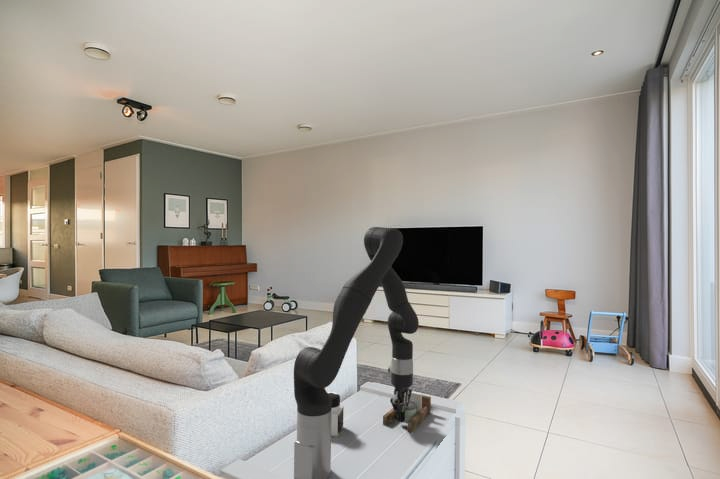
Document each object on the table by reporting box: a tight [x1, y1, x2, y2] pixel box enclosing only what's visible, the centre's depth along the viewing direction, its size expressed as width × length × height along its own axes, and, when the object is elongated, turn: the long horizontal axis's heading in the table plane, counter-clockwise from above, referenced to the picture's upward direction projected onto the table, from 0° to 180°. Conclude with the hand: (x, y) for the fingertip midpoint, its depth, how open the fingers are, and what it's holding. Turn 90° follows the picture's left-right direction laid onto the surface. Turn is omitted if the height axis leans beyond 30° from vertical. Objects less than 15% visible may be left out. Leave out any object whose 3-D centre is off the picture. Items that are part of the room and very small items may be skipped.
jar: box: [403, 401, 417, 424], centre depth 138 cm, size 6×6×5 cm
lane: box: [382, 394, 432, 434], centre depth 138 cm, size 18×11×6 cm, turn 149°
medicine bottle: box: [327, 391, 344, 438], centre depth 129 cm, size 7×7×12 cm
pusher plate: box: [409, 391, 423, 414], centre depth 144 cm, size 7×7×8 cm
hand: (400, 421), depth 133 cm, fingers closed
